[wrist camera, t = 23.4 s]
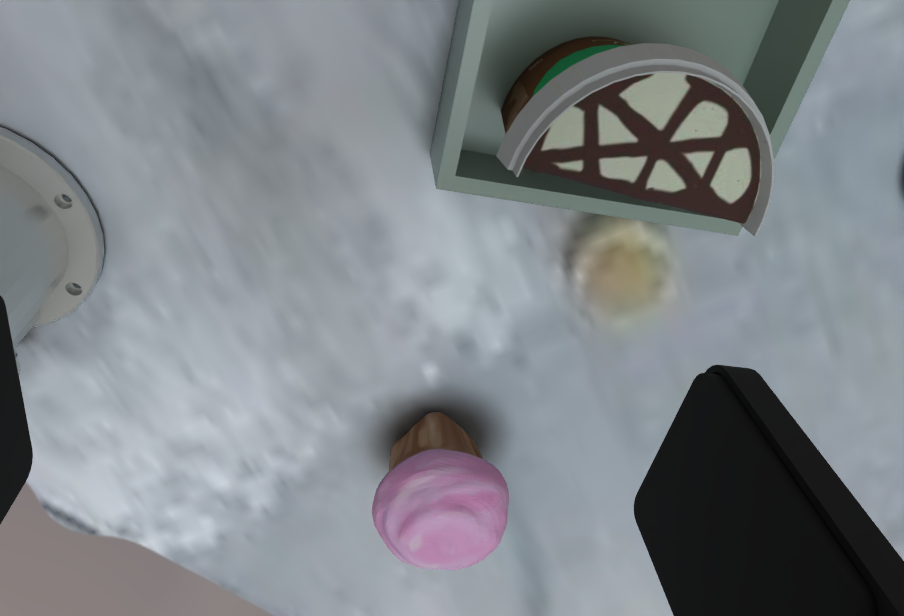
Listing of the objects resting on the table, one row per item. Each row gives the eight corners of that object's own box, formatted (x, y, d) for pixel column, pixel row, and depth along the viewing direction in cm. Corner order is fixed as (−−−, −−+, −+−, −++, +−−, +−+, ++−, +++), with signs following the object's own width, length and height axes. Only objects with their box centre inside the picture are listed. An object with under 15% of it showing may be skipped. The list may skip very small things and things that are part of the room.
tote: (700, 198, 40) (738, 235, 35) (429, 153, 37) (436, 188, 32) (872, -203, 29) (953, -218, 25) (518, -311, 26) (543, -348, 22)
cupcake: (428, 371, 45) (439, 483, 37) (518, 427, 48) (547, 540, 40) (350, 448, 48) (344, 567, 40) (441, 495, 52) (452, 613, 43)
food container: (733, 49, 34) (847, 103, 26) (680, 159, 37) (766, 239, 29) (511, -22, 31) (559, 12, 23) (473, 103, 34) (503, 173, 26)
